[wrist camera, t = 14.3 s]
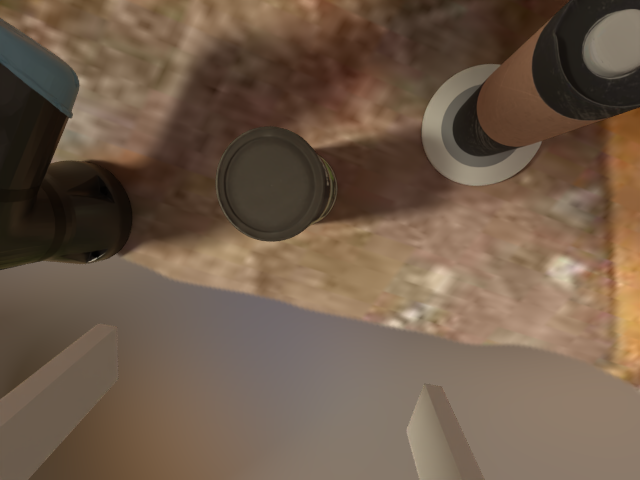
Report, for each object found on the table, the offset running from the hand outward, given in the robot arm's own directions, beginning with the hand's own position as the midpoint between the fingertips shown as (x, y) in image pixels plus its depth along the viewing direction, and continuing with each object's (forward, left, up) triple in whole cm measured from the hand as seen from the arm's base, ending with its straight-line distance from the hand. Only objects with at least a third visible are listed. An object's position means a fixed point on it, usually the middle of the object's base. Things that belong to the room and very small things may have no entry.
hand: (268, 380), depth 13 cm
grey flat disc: (+13, +20, -29) cm, 38 cm away
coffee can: (-7, +7, -29) cm, 31 cm away
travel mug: (+13, +20, -28) cm, 37 cm away
